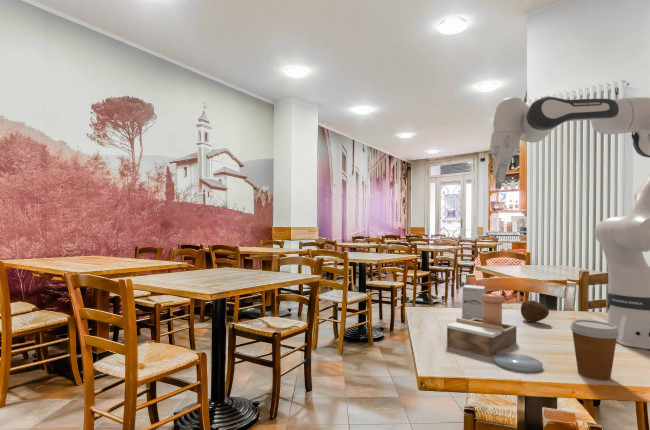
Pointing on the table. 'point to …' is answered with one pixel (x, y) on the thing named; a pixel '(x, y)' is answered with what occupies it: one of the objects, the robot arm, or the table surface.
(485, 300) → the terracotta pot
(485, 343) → the wooden box
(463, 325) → the lid panel
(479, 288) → the supplement box
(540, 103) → the robot arm
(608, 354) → the disposable coffee cup
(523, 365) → the saucer
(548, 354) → the table surface
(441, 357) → the table surface
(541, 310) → the potato
